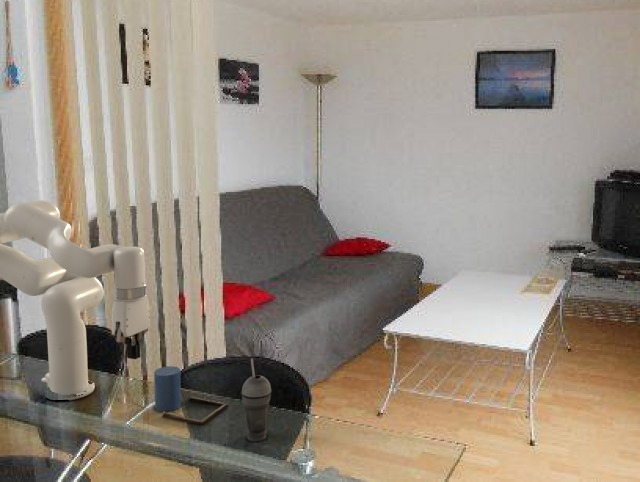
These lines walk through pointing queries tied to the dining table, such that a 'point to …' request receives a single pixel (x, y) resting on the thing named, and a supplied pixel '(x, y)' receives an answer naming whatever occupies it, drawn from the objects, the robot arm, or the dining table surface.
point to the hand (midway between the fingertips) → (133, 357)
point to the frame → (194, 421)
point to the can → (167, 388)
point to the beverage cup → (256, 405)
